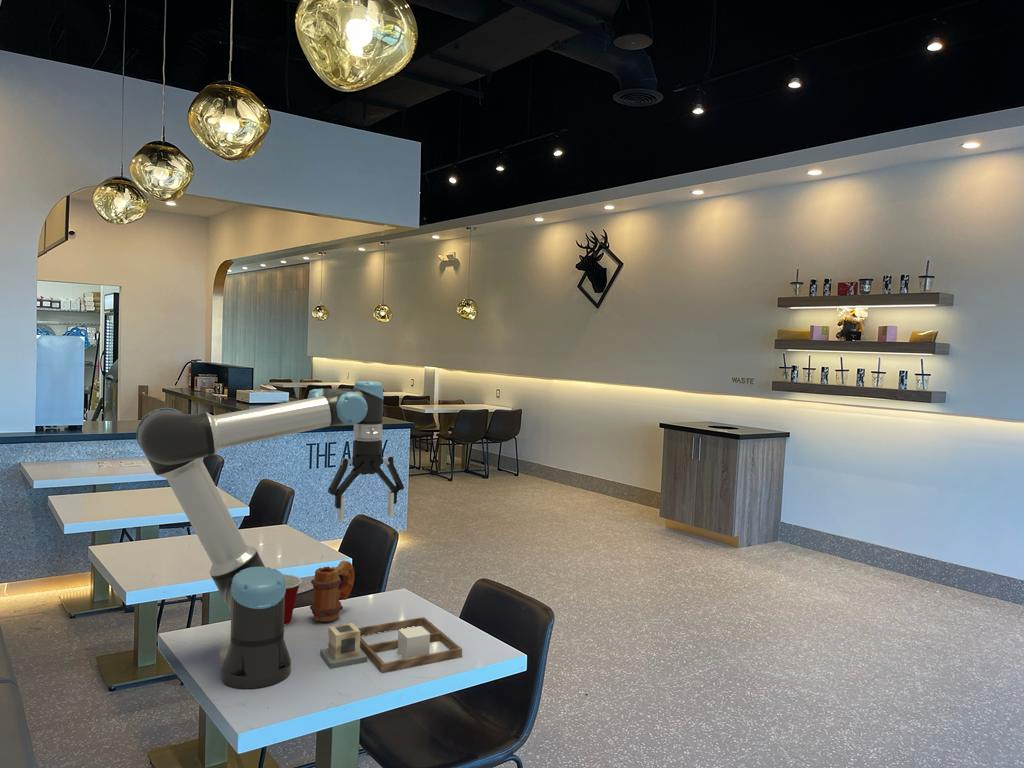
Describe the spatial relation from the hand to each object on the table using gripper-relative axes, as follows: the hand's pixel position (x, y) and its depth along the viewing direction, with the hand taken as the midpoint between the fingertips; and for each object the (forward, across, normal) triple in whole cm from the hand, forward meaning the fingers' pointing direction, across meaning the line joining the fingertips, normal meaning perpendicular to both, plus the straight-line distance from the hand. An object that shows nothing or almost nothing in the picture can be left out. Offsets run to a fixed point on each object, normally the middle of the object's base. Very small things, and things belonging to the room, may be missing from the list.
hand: (366, 518), depth 191 cm
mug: (+31, -4, +14) cm, 34 cm away
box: (+31, +6, -14) cm, 34 cm away
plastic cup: (+31, -18, +16) cm, 39 cm away
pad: (+31, -10, -14) cm, 35 cm away
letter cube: (+30, -10, -14) cm, 34 cm away
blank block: (+31, +6, -19) cm, 37 cm away
